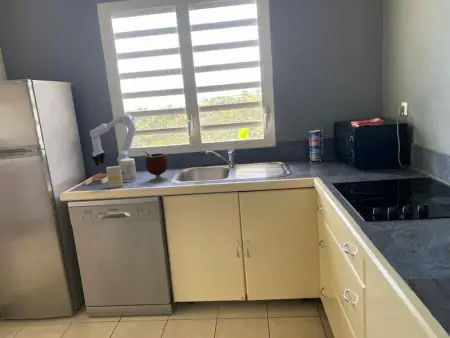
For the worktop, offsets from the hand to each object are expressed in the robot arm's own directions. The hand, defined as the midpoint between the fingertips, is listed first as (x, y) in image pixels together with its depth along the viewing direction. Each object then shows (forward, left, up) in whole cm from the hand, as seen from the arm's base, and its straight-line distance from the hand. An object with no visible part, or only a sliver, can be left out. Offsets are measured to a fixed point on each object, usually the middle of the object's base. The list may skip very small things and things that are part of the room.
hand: (100, 164), depth 257 cm
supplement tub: (-26, +17, -10) cm, 32 cm away
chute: (-3, +13, -9) cm, 16 cm away
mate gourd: (-46, +21, -10) cm, 51 cm away
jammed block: (-3, +9, -9) cm, 13 cm away
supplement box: (-22, +32, -10) cm, 40 cm away
